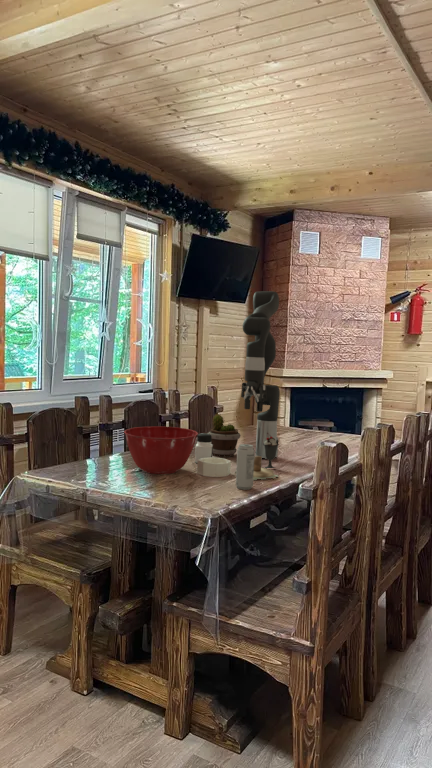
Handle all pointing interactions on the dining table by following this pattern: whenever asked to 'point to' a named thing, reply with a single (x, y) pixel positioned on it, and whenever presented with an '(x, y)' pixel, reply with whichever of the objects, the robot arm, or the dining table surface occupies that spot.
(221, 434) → the flowerpot
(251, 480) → the energy drink can
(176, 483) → the dining table surface
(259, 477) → the mat
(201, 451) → the medicine bottle
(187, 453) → the mixing bowl
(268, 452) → the sundae
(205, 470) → the bowl
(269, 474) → the lid
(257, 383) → the robot arm
